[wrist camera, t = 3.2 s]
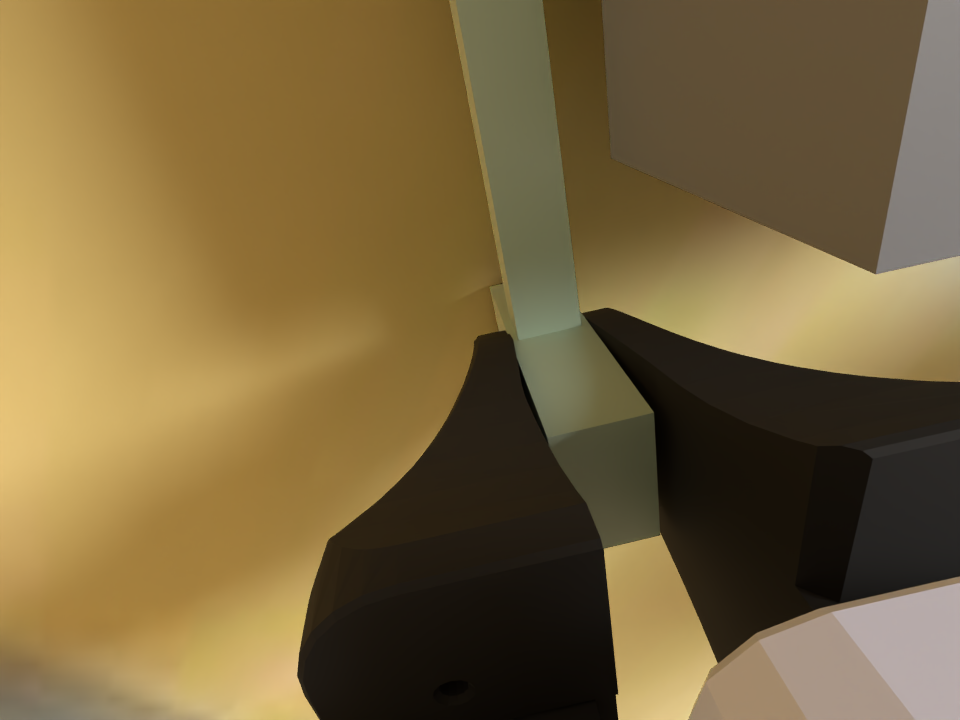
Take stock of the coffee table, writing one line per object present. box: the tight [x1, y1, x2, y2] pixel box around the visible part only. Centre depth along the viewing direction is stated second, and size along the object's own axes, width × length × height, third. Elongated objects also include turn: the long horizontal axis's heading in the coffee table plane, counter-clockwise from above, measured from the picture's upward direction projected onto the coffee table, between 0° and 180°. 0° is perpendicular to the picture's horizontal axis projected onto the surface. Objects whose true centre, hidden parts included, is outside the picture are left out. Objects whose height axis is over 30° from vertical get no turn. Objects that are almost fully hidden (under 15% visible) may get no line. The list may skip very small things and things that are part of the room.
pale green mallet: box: [449, 0, 660, 549], centre depth 8 cm, size 4×13×6 cm, turn 12°
